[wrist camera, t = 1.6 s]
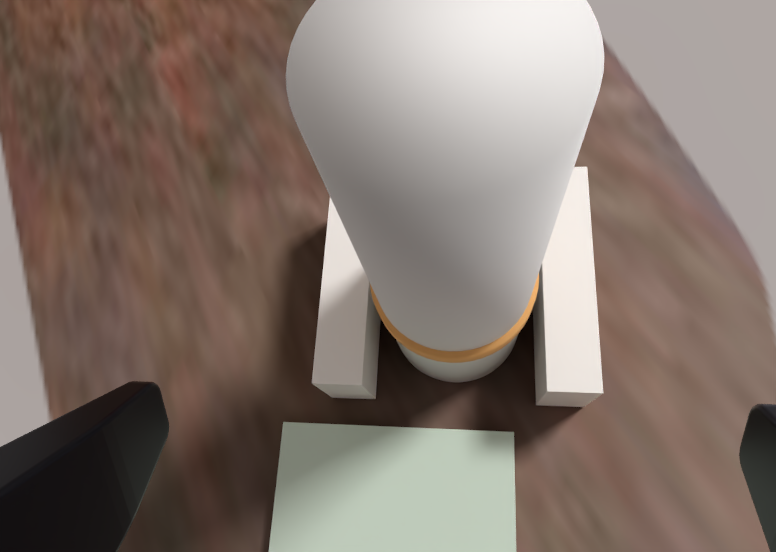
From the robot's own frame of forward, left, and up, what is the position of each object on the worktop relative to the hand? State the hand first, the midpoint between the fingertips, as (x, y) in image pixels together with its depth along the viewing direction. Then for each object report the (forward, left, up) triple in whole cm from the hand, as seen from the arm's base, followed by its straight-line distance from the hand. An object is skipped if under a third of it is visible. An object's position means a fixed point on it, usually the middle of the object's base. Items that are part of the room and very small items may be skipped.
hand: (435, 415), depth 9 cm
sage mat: (-2, +3, -12) cm, 12 cm away
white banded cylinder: (+4, -2, -12) cm, 13 cm away
